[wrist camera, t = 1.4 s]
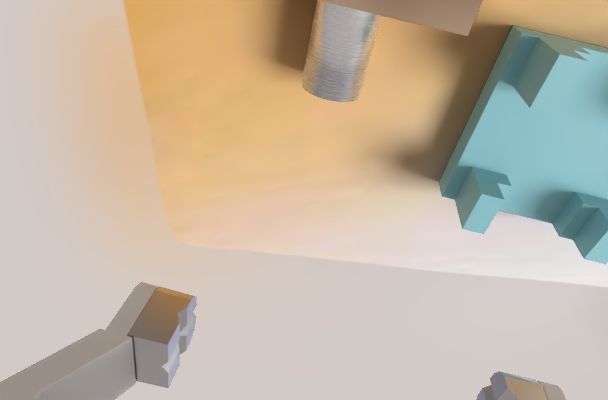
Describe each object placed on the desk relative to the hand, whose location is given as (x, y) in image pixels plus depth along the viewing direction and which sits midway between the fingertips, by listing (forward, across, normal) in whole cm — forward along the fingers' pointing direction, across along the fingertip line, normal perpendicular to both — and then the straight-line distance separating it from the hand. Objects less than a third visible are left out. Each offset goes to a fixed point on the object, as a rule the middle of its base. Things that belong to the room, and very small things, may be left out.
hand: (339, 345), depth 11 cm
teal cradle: (+22, -14, 0) cm, 26 cm away
